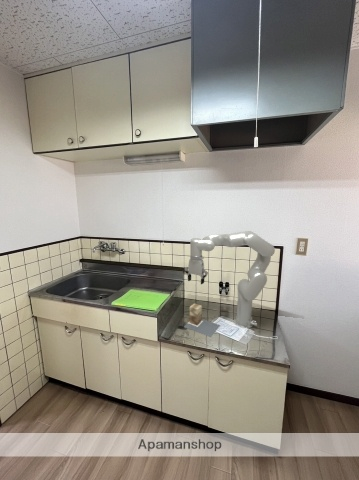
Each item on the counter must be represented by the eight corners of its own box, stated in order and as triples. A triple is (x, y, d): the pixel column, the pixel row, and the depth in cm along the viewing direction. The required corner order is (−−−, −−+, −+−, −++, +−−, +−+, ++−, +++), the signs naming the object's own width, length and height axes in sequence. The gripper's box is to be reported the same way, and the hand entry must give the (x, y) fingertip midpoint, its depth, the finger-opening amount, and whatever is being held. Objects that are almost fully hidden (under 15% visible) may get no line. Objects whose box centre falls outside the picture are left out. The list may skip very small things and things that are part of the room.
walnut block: (201, 321, 154) (201, 313, 153) (197, 325, 149) (197, 317, 148) (193, 318, 157) (194, 311, 156) (189, 322, 152) (189, 315, 151)
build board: (220, 326, 149) (220, 325, 149) (210, 338, 137) (210, 337, 137) (194, 317, 160) (194, 316, 160) (183, 327, 148) (183, 326, 148)
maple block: (201, 313, 153) (201, 305, 151) (197, 317, 148) (197, 309, 146) (194, 311, 156) (194, 303, 154) (189, 314, 151) (189, 307, 150)
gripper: (210, 258, 141) (210, 283, 145) (187, 254, 151) (187, 277, 154) (205, 261, 135) (204, 287, 139) (181, 256, 145) (181, 281, 148)
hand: (195, 282), depth 147 cm, fingers open, 9 cm apart
